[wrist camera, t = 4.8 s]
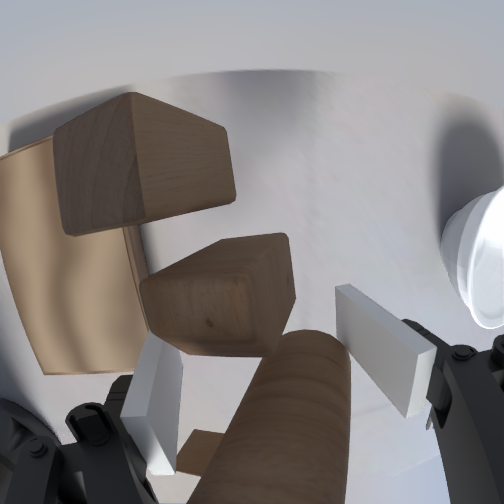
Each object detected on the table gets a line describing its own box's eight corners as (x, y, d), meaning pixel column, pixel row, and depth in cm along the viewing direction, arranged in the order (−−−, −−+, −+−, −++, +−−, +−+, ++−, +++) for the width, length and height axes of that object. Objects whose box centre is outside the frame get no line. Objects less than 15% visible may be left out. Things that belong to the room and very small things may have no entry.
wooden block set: (149, 155, 14) (-48, 153, 4) (326, 117, 12) (284, -56, 2) (215, 441, 17) (144, 559, 8) (347, 448, 15) (326, 597, 5)
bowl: (400, 295, 31) (447, 325, 23) (435, 159, 28) (489, 157, 20) (476, 309, 34) (517, 331, 26) (505, 202, 31) (549, 209, 23)
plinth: (56, 358, 28) (43, 375, 24) (7, 163, 23) (-13, 162, 19) (168, 349, 29) (164, 368, 25) (123, 124, 24) (111, 115, 20)
